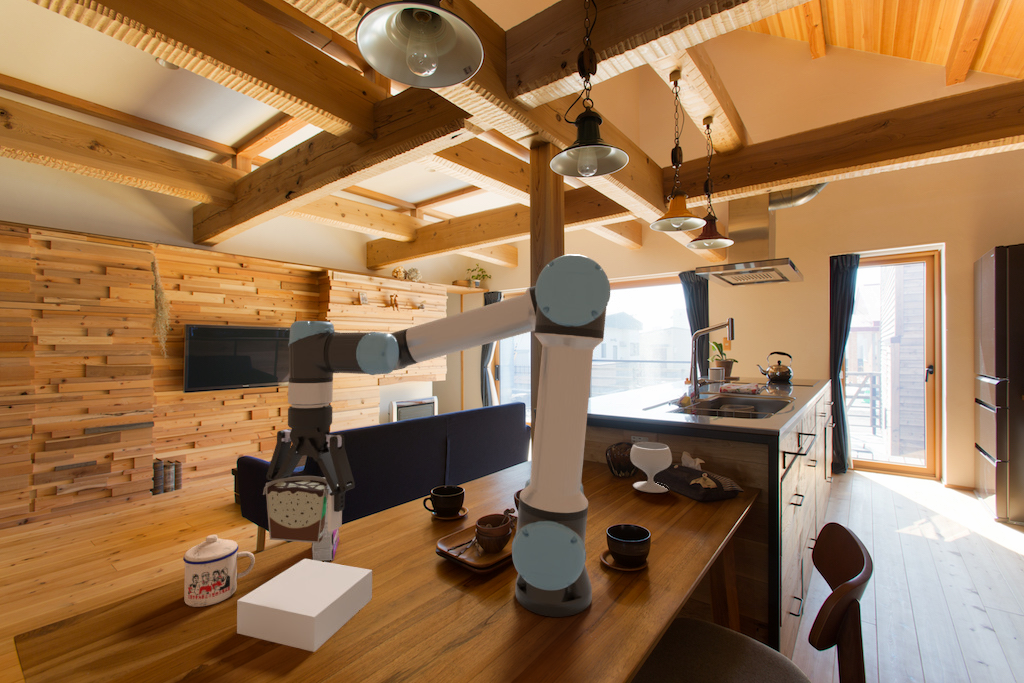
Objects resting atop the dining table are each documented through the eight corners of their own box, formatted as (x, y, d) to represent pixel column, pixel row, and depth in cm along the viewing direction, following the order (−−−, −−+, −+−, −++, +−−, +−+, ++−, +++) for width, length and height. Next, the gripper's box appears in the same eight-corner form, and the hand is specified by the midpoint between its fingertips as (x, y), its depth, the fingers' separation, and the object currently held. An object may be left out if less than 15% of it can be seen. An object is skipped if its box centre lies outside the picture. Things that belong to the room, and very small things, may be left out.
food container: (343, 529, 86) (344, 476, 86) (326, 543, 80) (327, 486, 80) (283, 525, 88) (284, 473, 88) (262, 538, 81) (263, 483, 82)
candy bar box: (318, 542, 114) (318, 477, 114) (339, 540, 115) (340, 475, 115) (310, 563, 103) (310, 491, 103) (333, 561, 104) (334, 489, 104)
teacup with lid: (179, 613, 83) (180, 550, 84) (186, 590, 91) (186, 532, 91) (254, 596, 89) (255, 537, 89) (254, 575, 97) (255, 521, 97)
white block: (372, 600, 89) (372, 570, 89) (314, 654, 73) (314, 616, 73) (304, 587, 93) (304, 558, 93) (237, 635, 78) (237, 600, 78)
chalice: (680, 492, 154) (680, 448, 154) (644, 496, 150) (644, 451, 150) (656, 480, 167) (656, 440, 167) (622, 483, 163) (622, 442, 163)
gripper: (376, 406, 83) (374, 525, 83) (279, 398, 91) (277, 507, 91) (348, 411, 76) (346, 542, 76) (245, 403, 84) (243, 520, 84)
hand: (308, 523), depth 84 cm, fingers closed on food container, 11 cm apart
